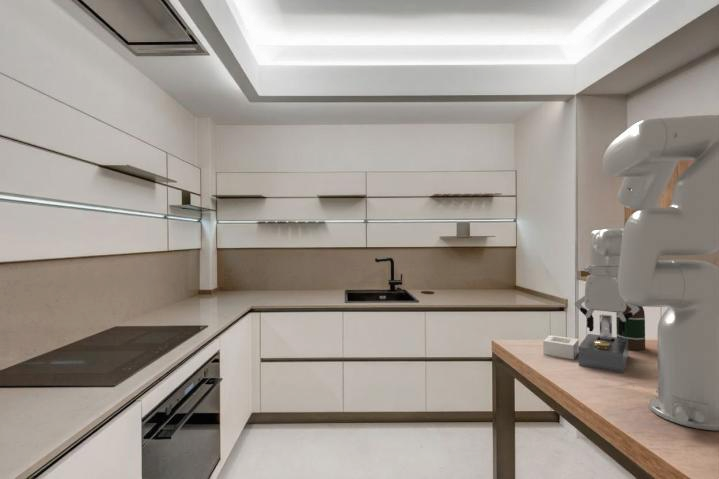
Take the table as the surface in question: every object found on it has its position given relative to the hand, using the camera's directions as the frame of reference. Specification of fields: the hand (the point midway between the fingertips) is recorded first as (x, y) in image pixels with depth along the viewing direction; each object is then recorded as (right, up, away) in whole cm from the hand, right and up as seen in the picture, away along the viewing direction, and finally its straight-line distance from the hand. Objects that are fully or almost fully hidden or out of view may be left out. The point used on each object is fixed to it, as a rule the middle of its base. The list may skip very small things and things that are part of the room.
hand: (605, 331), depth 108 cm
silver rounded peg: (0, -7, 0) cm, 7 cm away
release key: (-6, -7, -7) cm, 12 cm away
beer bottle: (+13, -8, +8) cm, 17 cm away
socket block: (-3, -8, -3) cm, 9 cm away
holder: (-11, -8, +4) cm, 14 cm away
